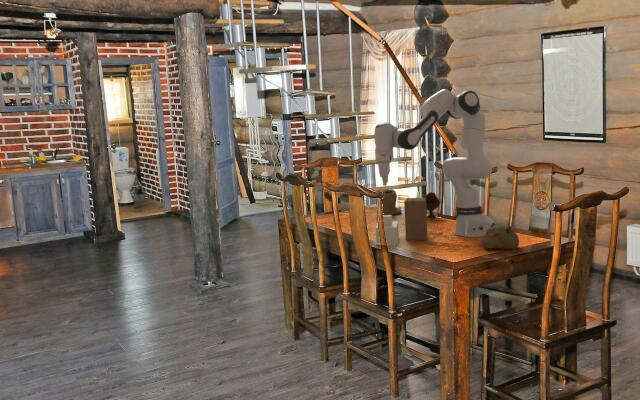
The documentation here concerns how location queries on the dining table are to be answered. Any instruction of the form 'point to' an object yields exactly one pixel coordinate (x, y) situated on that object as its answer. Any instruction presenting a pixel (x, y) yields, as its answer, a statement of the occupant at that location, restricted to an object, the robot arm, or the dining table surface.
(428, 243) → the dining table surface
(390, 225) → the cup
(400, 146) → the robot arm
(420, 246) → the dining table surface
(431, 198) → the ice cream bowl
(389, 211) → the stone cup
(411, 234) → the wooden block
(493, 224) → the bear head
